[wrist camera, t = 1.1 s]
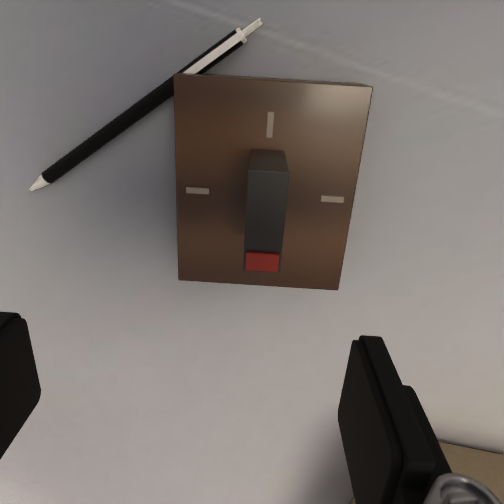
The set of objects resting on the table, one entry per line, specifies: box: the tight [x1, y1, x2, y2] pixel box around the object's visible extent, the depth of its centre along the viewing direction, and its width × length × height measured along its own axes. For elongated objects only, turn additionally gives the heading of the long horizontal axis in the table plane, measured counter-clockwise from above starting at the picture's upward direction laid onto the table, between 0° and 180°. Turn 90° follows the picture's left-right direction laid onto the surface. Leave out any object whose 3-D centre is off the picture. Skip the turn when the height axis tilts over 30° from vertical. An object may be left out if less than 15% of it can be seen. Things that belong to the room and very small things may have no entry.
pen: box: [29, 18, 263, 191], centre depth 26 cm, size 1×19×1 cm, turn 122°
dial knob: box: [243, 149, 290, 273], centre depth 22 cm, size 6×2×5 cm, turn 177°
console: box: [173, 73, 373, 290], centre depth 26 cm, size 13×11×3 cm
